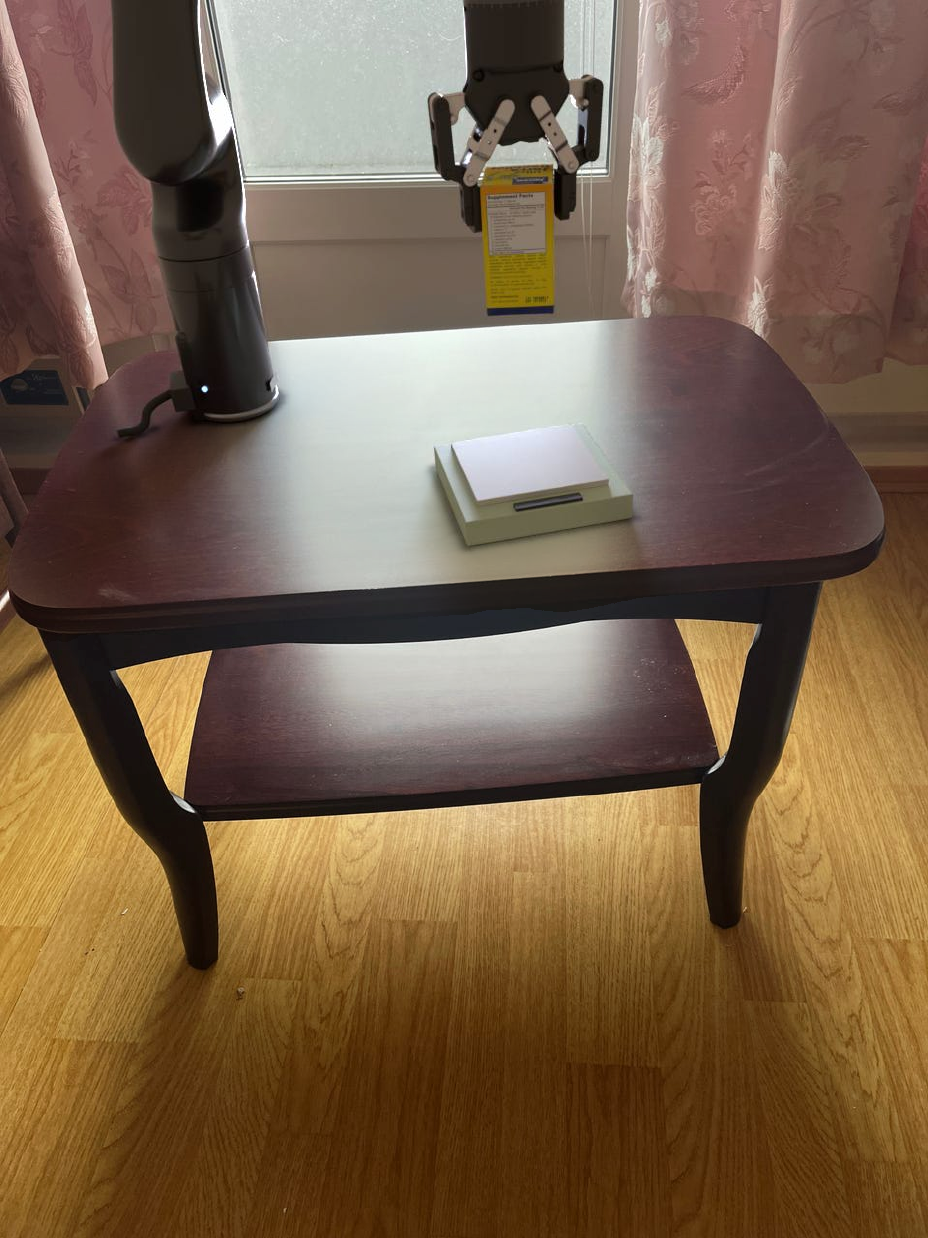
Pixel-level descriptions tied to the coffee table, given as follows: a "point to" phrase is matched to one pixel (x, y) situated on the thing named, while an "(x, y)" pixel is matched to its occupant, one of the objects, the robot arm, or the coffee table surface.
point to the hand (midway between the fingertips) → (518, 223)
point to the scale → (530, 483)
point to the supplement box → (518, 239)
